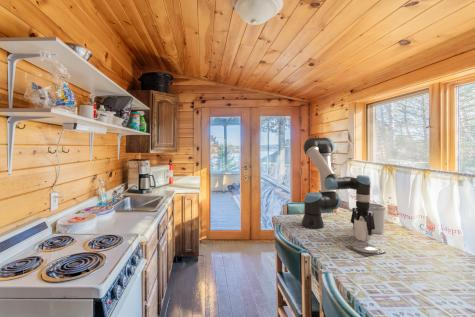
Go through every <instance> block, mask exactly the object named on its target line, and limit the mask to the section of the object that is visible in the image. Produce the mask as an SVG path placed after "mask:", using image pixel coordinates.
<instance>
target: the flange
mask: <svg viewBox="0 0 475 317" xmlns="http://www.w3.org/2000/svg"><path fill="white" fill-rule="evenodd" d="M344 247H345V248H347V249H349V250H351V251H353V252H355V253H356V254H359V255H361V256H363V257H366V258H368V257H374V256H378V255H383V254H386V253H387V252H386V251H385V250H382V249H381V248H379V247H378V246H376V245H374V244H371V243H368V242H367V243H366V242H363V241H362V242H360V241H359V242H353V243H351V244H347V245H344Z"/></svg>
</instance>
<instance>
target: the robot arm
mask: <svg viewBox="0 0 475 317" xmlns="http://www.w3.org/2000/svg"><path fill="white" fill-rule="evenodd" d="M302 148H303V152H304V154H305V155H306V157H307V158H309V159H310V160H311V162H312V163H313V164H314V166H315V168H316V169H317V171H318V172H319V180H320V181H319V182H320V189H321V190H320V191H319V192H317V191H315V192H313V191H311V192H308V193H305V195H304V200H303V201H304V205H303V206H304V210H303V211H304V212H303V213H304V214H303V218H302V221H301V226H302V227H304V228H307V229H310V230H311V229H314V230H317V229H323V228H324V227H325V224H324V219H323V216H322V212H323V211H334V210H338V209H339V208H340V206H341V203H342V198H341V196H340V195H339V194H338V193H337V190H355V191H356V192H355V197H356V198H355V200H356V201H355V207H352V208H351V209H352V212H351V217H350V223H351V224H352V225H353V226H352V230H353V236H356V235H355V227H354V219H355V220H358V221H359V219H360V218H361V216H362V217H363V218H364V220H365V222H367V229H366V240H367V241H371V239H372V238H371V237H372V234H373V233H372V230H374V229H375V225H374V218H373V215H374V213H373V212H369V208H370V203H371V202H370V201H371V177H370V176H369V175H363V174H362V175H357V176H356V177H354V176H353V177H351V176H343V177H338V176H337V174H336V173H335V172H334V170H333V169H332V165H331V156H332V153H333V152H334V149H335V144H334V141H333V140H332V139H331V138H330V137H314V136H313V137H309V138H307V139H306V140H305V141H304V143H303V147H302ZM366 216H367V217H366ZM369 227H370V228H369Z"/></svg>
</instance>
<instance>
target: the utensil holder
mask: <svg viewBox="0 0 475 317" xmlns="http://www.w3.org/2000/svg"><path fill="white" fill-rule="evenodd" d="M385 210H386V205H385V204H381V203H376V202H370V208H369V212H373V213H374V215H373V218H374V225H375V229H374V230H372V234H375V235H376V234H380V235H381V234H384V231H385V217H386V216H385V214H386V212H385ZM366 217H367V216H366ZM360 218H363V217H362V216H361V217H360Z"/></svg>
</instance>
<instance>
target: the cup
mask: <svg viewBox="0 0 475 317" xmlns="http://www.w3.org/2000/svg"><path fill="white" fill-rule="evenodd" d="M354 227H355V235H354V236H355V239H356V240H359V241H362V242H365V241H367V240H366V229H367V222H365V220H364V218H361V217H360V219H359V221H358V220H355V219H354ZM369 228H370V227H369Z"/></svg>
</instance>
